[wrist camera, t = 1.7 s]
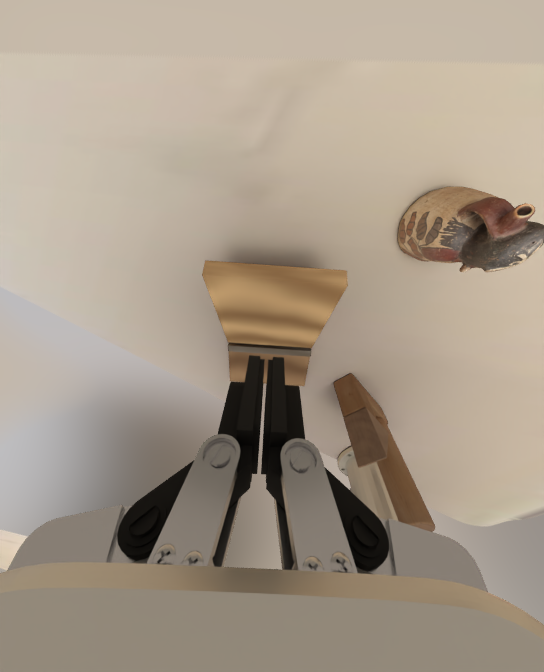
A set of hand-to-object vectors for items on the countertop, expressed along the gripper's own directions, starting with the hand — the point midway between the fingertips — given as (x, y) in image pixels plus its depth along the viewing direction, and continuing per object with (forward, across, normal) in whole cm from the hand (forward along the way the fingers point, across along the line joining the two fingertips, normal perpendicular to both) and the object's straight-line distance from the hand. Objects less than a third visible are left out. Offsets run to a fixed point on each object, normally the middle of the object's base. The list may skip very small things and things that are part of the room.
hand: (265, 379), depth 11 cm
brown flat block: (+20, 0, +15) cm, 25 cm away
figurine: (+20, -17, -6) cm, 27 cm away
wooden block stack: (+20, -16, +21) cm, 33 cm away
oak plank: (+15, 0, +4) cm, 16 cm away
